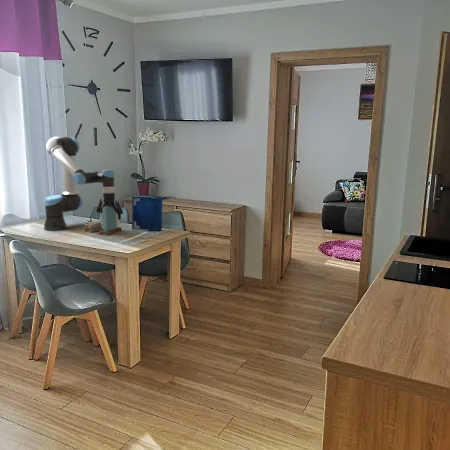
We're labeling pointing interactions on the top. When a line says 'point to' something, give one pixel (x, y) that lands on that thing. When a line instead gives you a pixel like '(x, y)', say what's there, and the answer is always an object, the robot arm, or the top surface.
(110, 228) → the teal slotted panel
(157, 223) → the book
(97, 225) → the offcut stack
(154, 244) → the top surface
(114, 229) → the slot rack
